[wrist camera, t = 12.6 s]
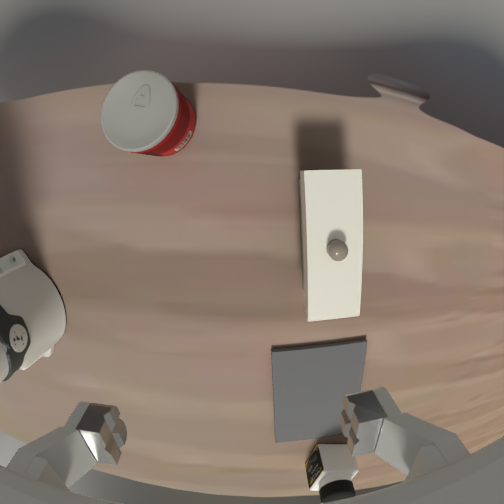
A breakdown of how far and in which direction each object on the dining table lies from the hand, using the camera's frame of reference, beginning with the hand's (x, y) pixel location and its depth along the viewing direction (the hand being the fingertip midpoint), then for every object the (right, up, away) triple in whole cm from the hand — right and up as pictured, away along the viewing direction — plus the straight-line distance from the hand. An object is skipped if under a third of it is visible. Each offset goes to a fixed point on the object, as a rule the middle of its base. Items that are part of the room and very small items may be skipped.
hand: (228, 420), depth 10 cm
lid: (+9, +7, +24) cm, 27 cm away
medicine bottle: (+15, -33, +40) cm, 54 cm away
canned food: (-10, +21, +25) cm, 35 cm away
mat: (+11, -17, +35) cm, 41 cm away
